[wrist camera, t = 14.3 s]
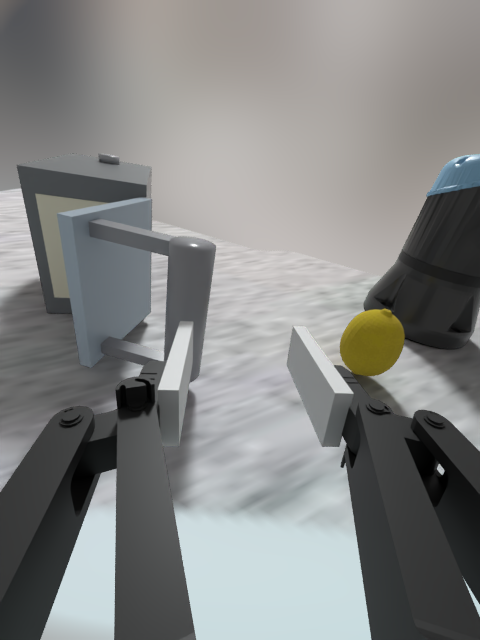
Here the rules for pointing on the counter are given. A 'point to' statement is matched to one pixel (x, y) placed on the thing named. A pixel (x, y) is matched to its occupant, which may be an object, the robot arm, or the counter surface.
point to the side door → (130, 280)
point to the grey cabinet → (71, 206)
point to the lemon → (372, 342)
